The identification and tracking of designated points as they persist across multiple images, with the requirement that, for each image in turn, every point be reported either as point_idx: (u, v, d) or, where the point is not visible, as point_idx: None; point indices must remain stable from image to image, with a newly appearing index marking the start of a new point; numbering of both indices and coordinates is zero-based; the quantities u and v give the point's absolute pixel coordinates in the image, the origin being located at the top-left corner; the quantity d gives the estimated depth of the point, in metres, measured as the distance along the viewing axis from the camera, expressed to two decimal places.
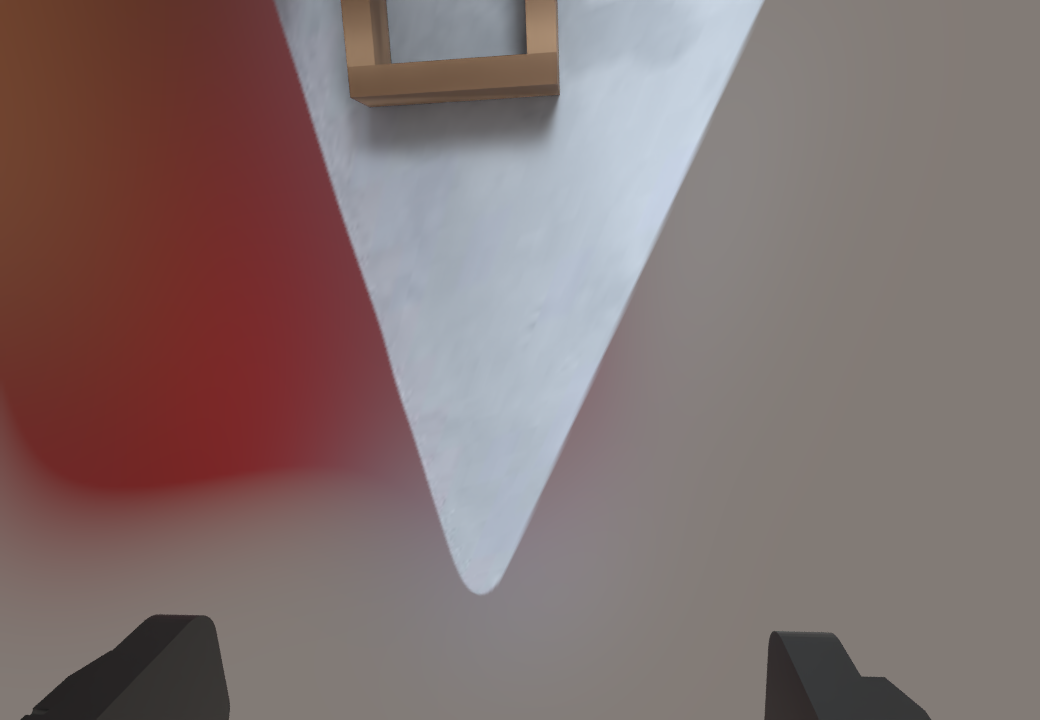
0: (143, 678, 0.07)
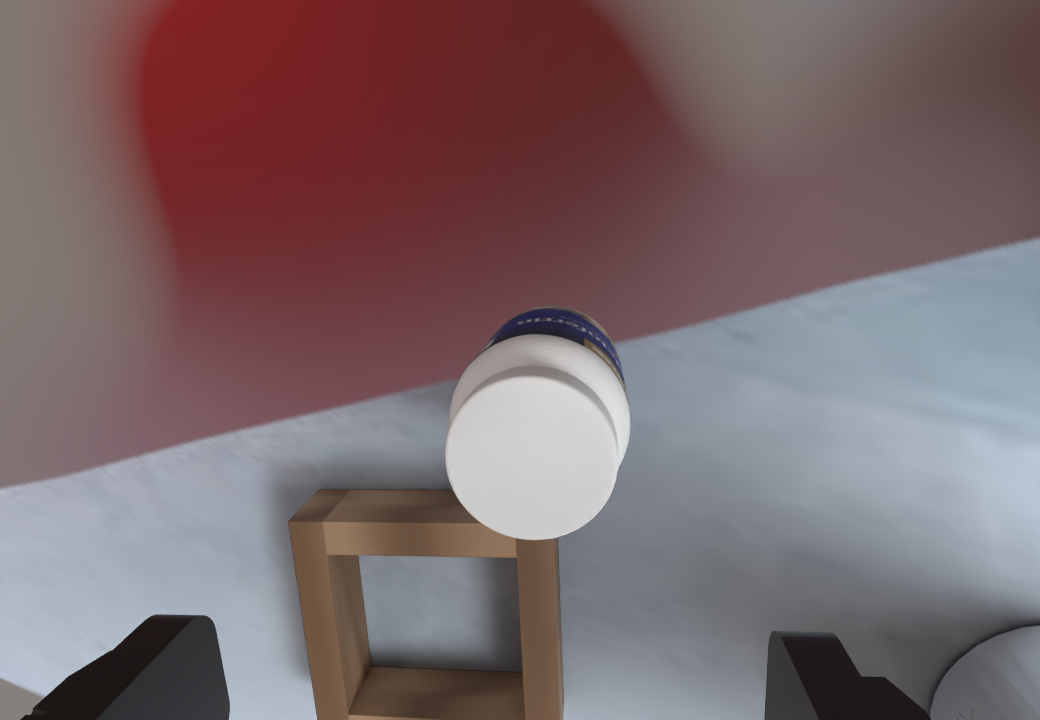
0: (143, 678, 0.07)
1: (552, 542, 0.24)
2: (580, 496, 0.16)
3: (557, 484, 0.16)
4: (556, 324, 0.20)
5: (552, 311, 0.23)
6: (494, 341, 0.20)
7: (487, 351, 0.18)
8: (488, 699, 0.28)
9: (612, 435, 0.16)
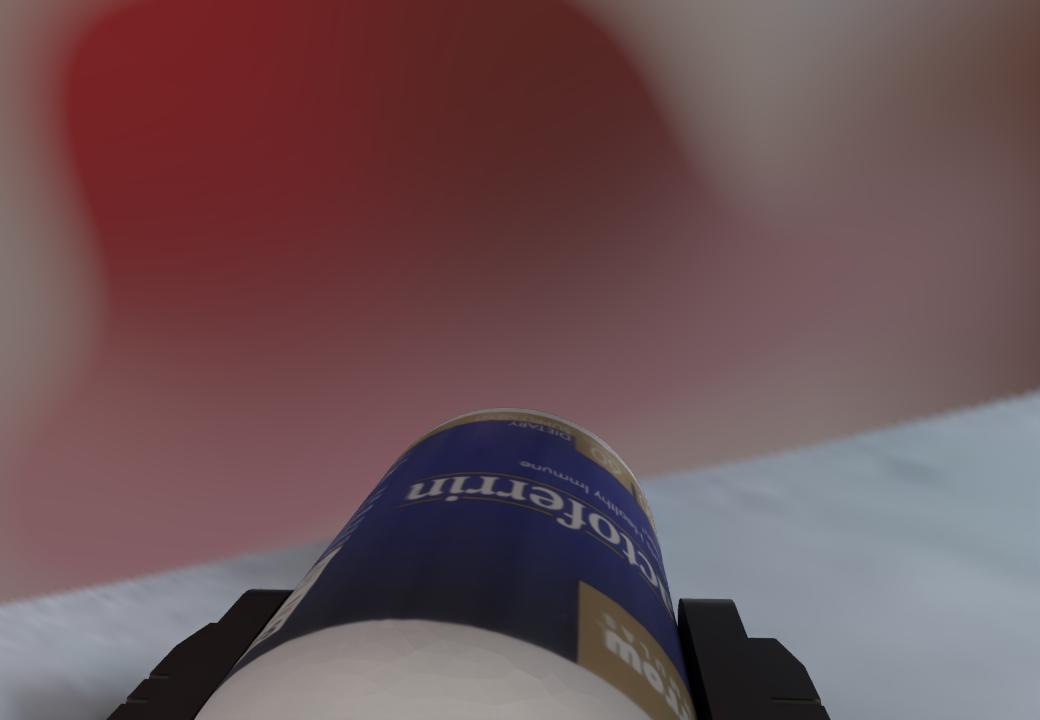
0: None
1: None
2: None
3: None
4: (502, 516, 0.07)
5: (505, 436, 0.10)
6: (311, 591, 0.07)
7: (249, 680, 0.05)
8: None
9: None
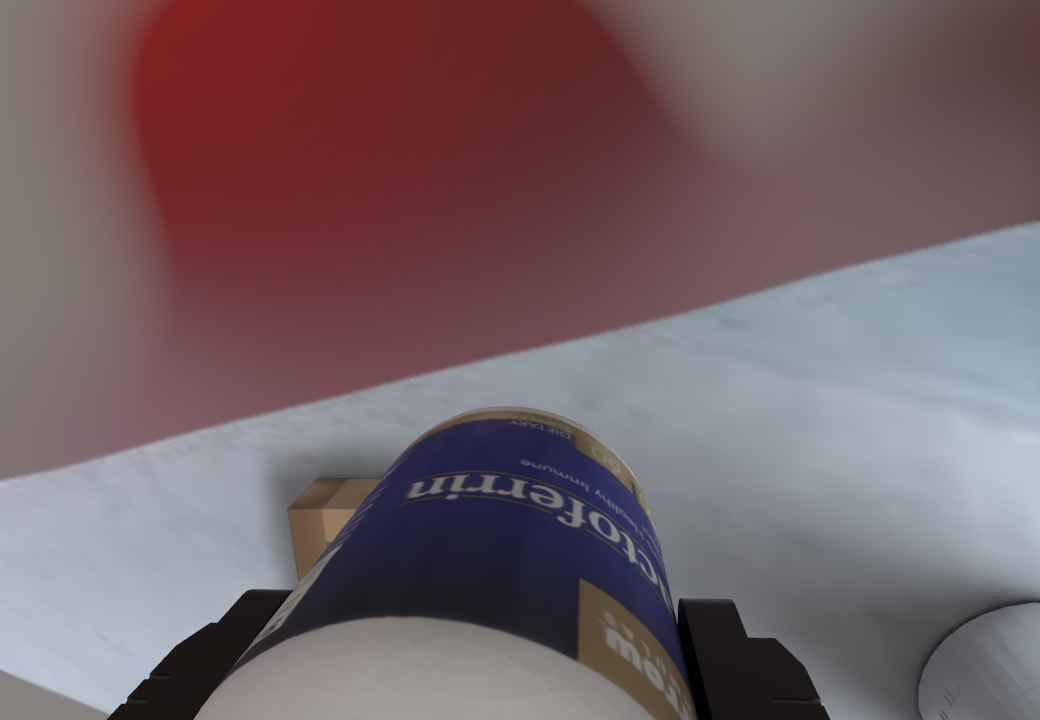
0: None
1: None
2: None
3: None
4: (502, 515, 0.07)
5: (506, 435, 0.10)
6: (312, 589, 0.07)
7: (250, 677, 0.05)
8: None
9: None
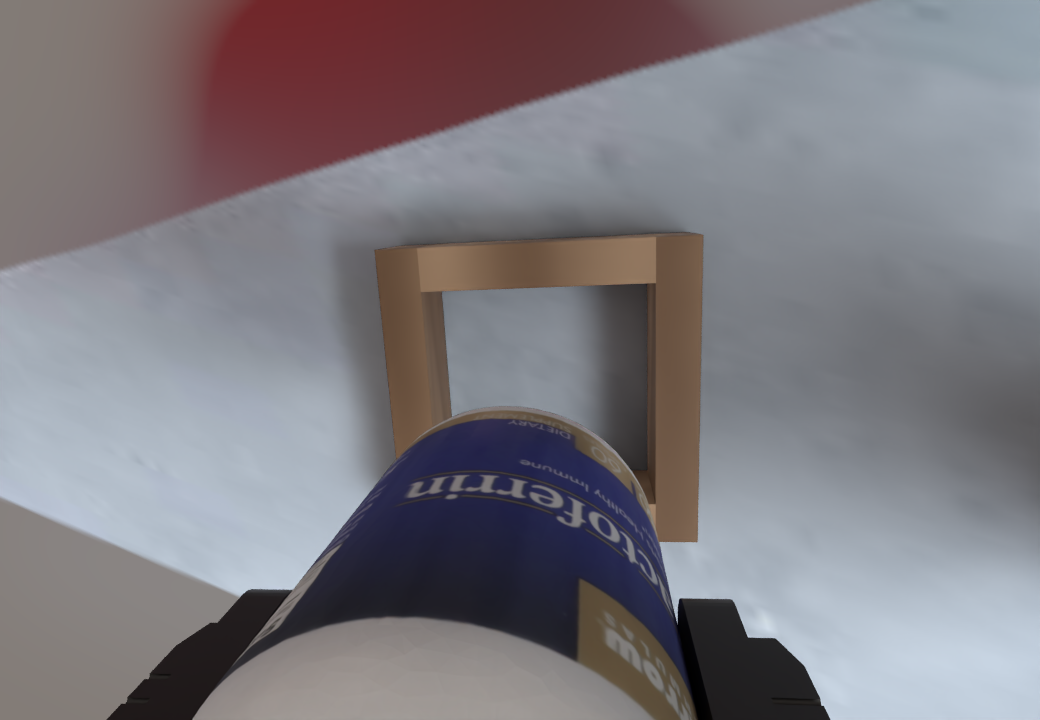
0: None
1: (701, 261, 0.20)
2: None
3: None
4: (501, 515, 0.07)
5: (505, 435, 0.10)
6: (311, 590, 0.07)
7: (248, 678, 0.05)
8: None
9: None
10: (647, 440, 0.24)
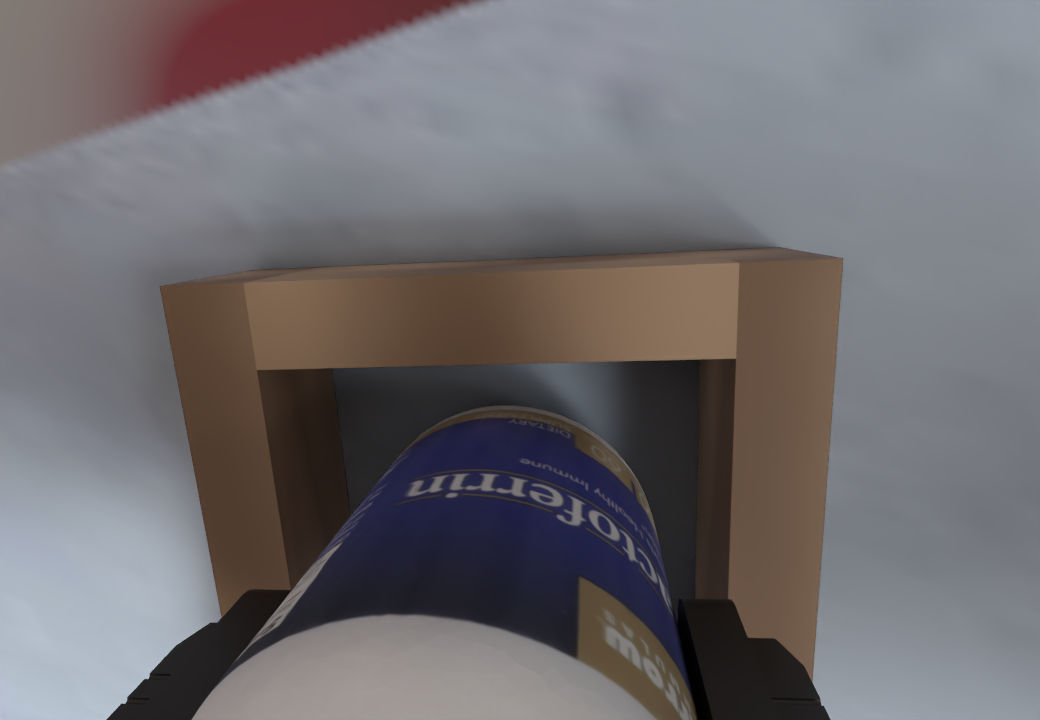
0: None
1: (834, 314, 0.09)
2: None
3: None
4: (501, 513, 0.07)
5: (505, 434, 0.10)
6: (311, 588, 0.07)
7: (249, 675, 0.05)
8: None
9: None
10: None
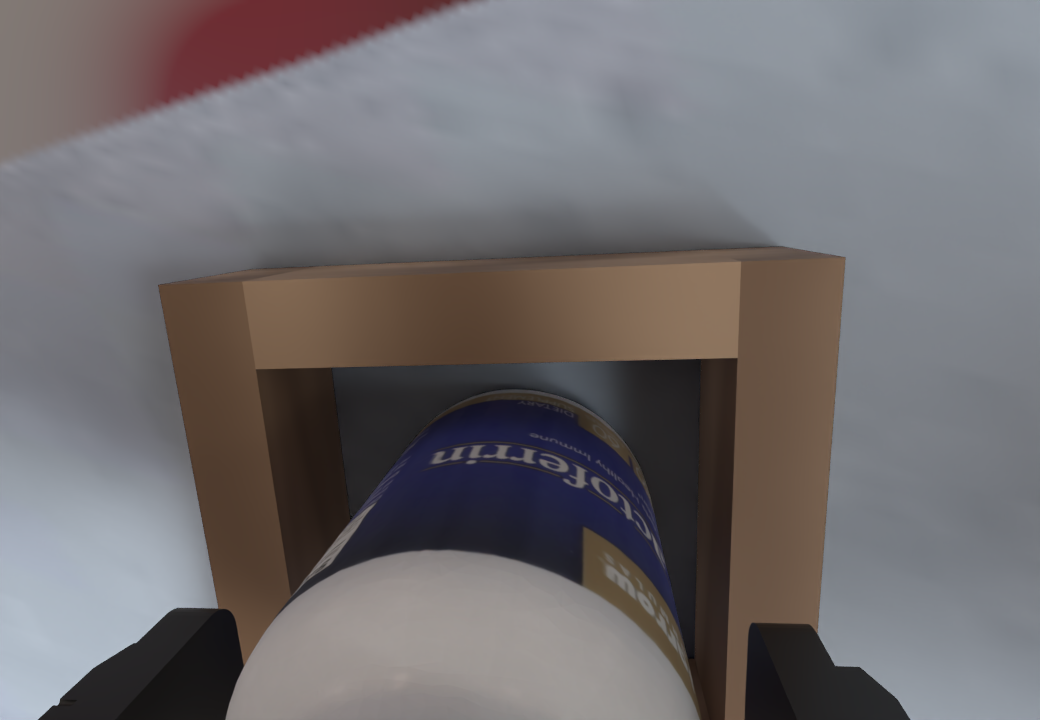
0: (169, 669, 0.08)
1: (836, 313, 0.09)
2: None
3: None
4: (515, 476, 0.09)
5: (515, 413, 0.11)
6: (355, 536, 0.08)
7: (311, 600, 0.07)
8: None
9: None
10: (696, 611, 0.14)
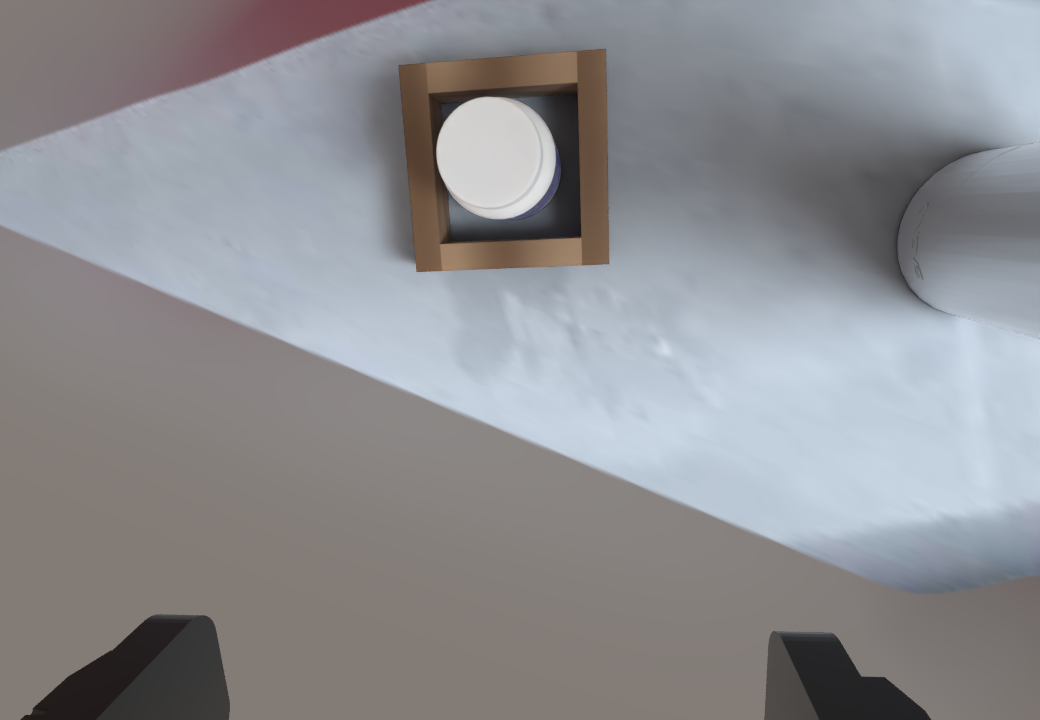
0: (143, 678, 0.07)
1: (605, 67, 0.31)
2: (518, 174, 0.26)
3: (504, 167, 0.26)
4: None
5: None
6: None
7: None
8: (549, 238, 0.35)
9: (536, 133, 0.26)
10: None
